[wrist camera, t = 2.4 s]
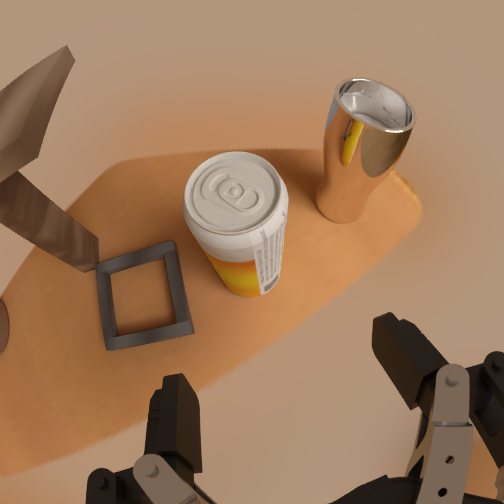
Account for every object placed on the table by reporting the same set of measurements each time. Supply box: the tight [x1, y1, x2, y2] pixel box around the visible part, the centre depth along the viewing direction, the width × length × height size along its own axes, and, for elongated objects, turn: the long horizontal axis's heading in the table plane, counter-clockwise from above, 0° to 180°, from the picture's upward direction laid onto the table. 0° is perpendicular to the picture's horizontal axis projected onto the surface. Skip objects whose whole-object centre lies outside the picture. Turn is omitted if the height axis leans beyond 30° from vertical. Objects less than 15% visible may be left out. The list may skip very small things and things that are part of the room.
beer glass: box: [315, 77, 416, 224], centre depth 24 cm, size 7×7×15 cm
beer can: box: [183, 151, 288, 297], centre depth 22 cm, size 6×6×15 cm
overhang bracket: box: [0, 45, 194, 351], centre depth 19 cm, size 13×16×23 cm
